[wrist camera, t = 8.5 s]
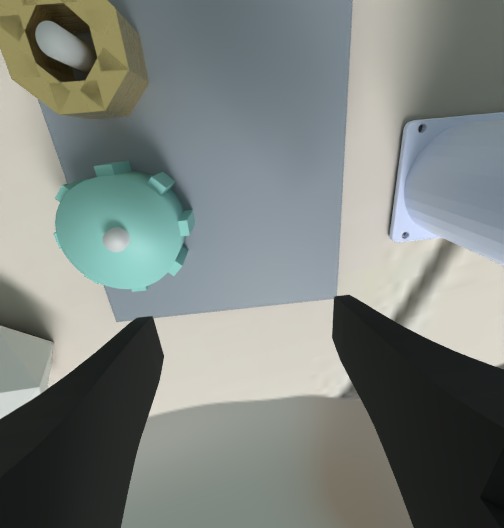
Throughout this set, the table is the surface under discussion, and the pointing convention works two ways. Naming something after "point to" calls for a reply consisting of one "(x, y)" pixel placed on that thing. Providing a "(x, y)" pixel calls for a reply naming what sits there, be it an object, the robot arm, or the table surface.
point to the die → (22, 368)
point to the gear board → (210, 158)
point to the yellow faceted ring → (61, 75)
